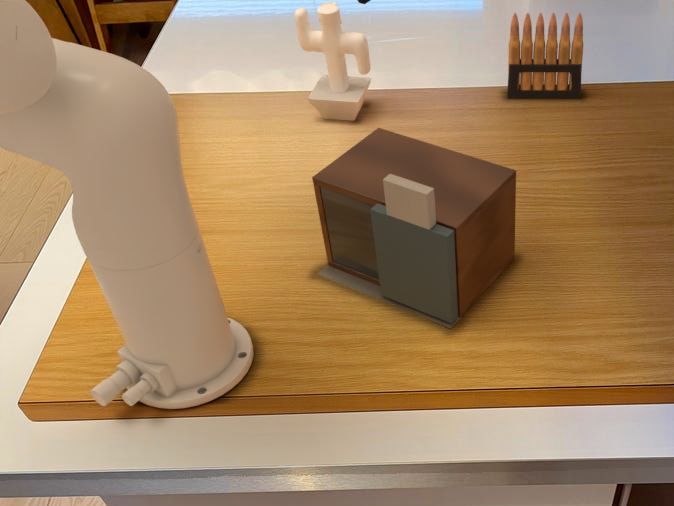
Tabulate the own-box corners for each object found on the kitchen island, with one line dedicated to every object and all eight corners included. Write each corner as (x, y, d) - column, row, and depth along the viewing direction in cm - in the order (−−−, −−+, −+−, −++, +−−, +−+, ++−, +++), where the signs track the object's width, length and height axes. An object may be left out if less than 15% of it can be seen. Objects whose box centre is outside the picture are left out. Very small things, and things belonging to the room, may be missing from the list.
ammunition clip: (507, 98, 119) (507, 15, 111) (507, 92, 121) (508, 10, 112) (580, 98, 119) (587, 15, 111) (580, 92, 120) (586, 10, 112)
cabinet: (450, 329, 85) (445, 238, 76) (317, 275, 91) (299, 186, 83) (514, 259, 93) (516, 170, 85) (388, 214, 99) (378, 127, 91)
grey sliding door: (451, 324, 85) (445, 200, 74) (381, 295, 88) (365, 173, 77) (458, 317, 85) (452, 194, 75) (387, 289, 89) (372, 167, 78)
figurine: (368, 127, 114) (355, 19, 103) (303, 122, 115) (284, 15, 105) (381, 102, 119) (370, -3, 109) (319, 98, 120) (302, -7, 110)
